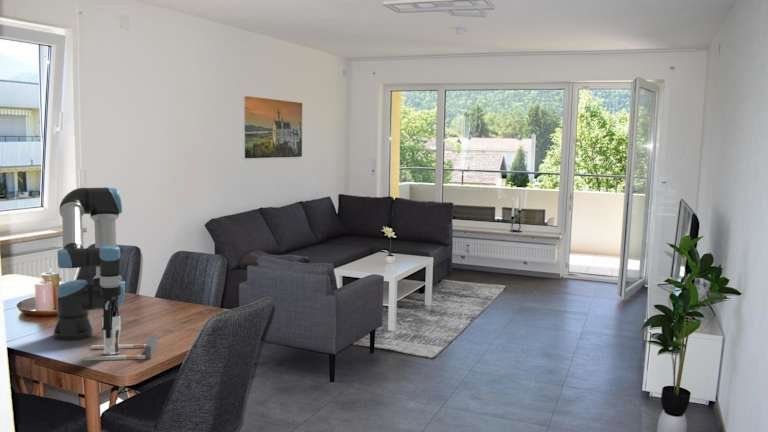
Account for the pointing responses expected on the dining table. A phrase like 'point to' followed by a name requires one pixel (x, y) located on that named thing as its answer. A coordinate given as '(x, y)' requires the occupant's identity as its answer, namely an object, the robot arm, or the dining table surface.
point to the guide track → (148, 347)
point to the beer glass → (116, 333)
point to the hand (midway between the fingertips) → (111, 342)
